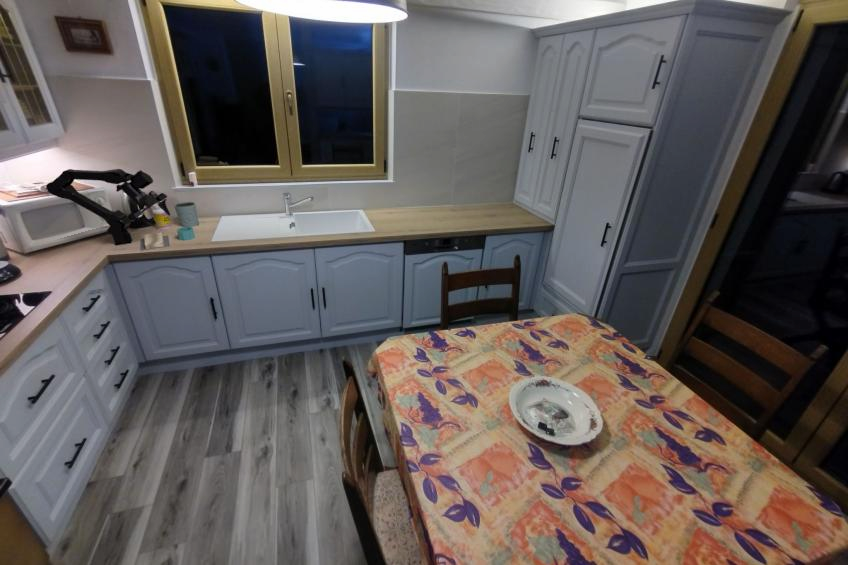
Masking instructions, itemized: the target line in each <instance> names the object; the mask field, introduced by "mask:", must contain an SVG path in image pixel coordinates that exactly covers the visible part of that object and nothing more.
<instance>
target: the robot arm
mask: <svg viewBox="0 0 848 565" xmlns="http://www.w3.org/2000/svg"><path fill="white" fill-rule="evenodd" d="M75 180H79V181H80V180H82V181H101V182H105V183H107V184H111V185H112V184H113V185H116V186H115V187H116V192H118V193H119V192H120V191H123V193H125V195H126V196H128V198H130V199H131V200H130V201H131V202H134V203H135V204H136V205H137V206H138V208H139V209H138V208H137V209H136V210H134V211H132V212H131V213H129V214H127V213H124V212H122V211H121V210H119V209H117V210H115V211H114V210H111V209H109V208H107V207H105V206H104V205H102V204H99V203H98V202H96V201H94V200H93V199H91V198H89V197H87V196H85V195H83V194H82V193H80V192H78V190H77V189H76V188H75V186H73V183H74V181H75ZM121 183H122V184H121ZM153 183H154V179H153V177H152V176H151V175H150V174H148V173H146V172H144V171H143V170H141V169H140V170H138V171H136V173H135V174H132V173H129V172H126V171H124V170H123V169H120V168H115V169H107V170H102V171H101V170H83V169H73V168H69V169H66V170H63V171H62V172H61V174H60V175H59V176H57V177H56V178H55V179H54V180H53V181H50V182H48V183H46V190H47V192H48V193H49V194H51V195H53V196H55V197H57V198H60V199H64V200H70V201H71V202H73V203H75V204H77V205H78V206H80V207H82V208H84V209H85V210H88V211H89V212H91V213H93V214H95V215H96V216H98V217H100V218H101V219H103V220H104V221H105V223H106V224H107V225H108V226H109V227H108V228H107V230H106V231H107V233H108V234H109V235H111V236H112V239H113V240H114V246H115V247H117V246H122V245H123V246H124V245H127V244H128V245H129V244H132V241H133V238H132V234H131V232H130V231H129V230H128V229H129V228H130V225H131V222H132V221H134V220H135V221H140V222H143V223H145V224H147V225H148V226H149V225H150V226H152V227H156V224H155V223H153V222H152V221H151V220H150V219H149V218H147V216H146V214H144V213H143V212H145V211H147V210H148V209H150V208H151V207H152V206H153V205H154V204H157V205H158V206H159V207H160V208H161V209H162V210H163V211H164V212H165V213H166V214H168V215H169V217H170V216H171V213H170V211H169V209H168V208H167V207H168V206H167V204H166V201H167V198H168V196H167V194H166V193H163V192H161V193H159V194H158V193H157V192H155V190H151V191H148V194H147V193H146V192H144V191H142V190H144V189H145V188H147V187H148V186H149V185H152V184H153Z"/></svg>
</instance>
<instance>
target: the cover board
mask: <svg viewBox="0 0 848 565" xmlns="http://www.w3.org/2000/svg"><path fill="white" fill-rule="evenodd" d="M163 236H164V235H163V232H155V233H149V234H144V239H145V246H146V249H149V248H155V247H162V246H164V242H163Z"/></svg>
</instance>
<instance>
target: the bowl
mask: <svg viewBox="0 0 848 565" xmlns="http://www.w3.org/2000/svg"><path fill="white" fill-rule="evenodd" d="M176 232H177V236H178V239H179V241H190V240H194V239H195V238H196V235H195V232H194V228H193V227H179V228H177V229H176Z"/></svg>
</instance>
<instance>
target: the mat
mask: <svg viewBox="0 0 848 565" xmlns="http://www.w3.org/2000/svg"><path fill="white" fill-rule="evenodd" d="M162 236H163V242H164V246H162V247H155V248H149V249H146V246H145V238H141V239H140V243H139V244H140V246H139V249H140V250H139V251H140V252H142V251H150V250H155V249H162V248H167V247H168V248H169V247H171V245H170V244H171V243H170V240H169V239H170V238H169V234H168V235H162Z"/></svg>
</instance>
